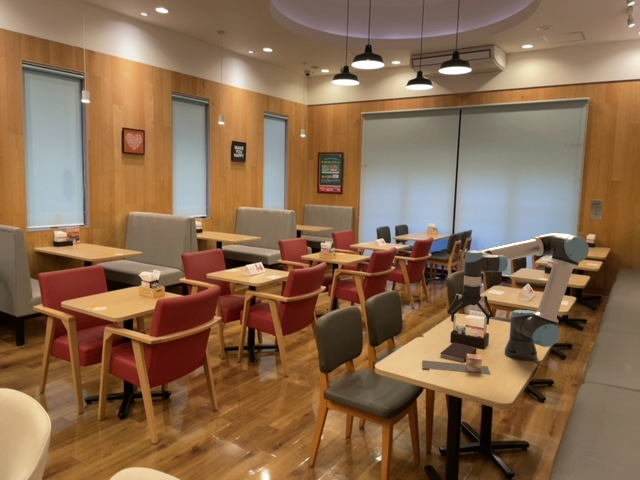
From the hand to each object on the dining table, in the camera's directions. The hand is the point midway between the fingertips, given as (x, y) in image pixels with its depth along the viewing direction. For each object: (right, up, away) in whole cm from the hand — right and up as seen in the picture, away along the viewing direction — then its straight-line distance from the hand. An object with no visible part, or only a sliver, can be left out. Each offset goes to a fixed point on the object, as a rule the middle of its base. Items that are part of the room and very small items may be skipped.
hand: (469, 330), depth 219 cm
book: (+1, -17, +21) cm, 27 cm away
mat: (-6, -18, +3) cm, 20 cm away
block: (+2, -18, +1) cm, 18 cm away
